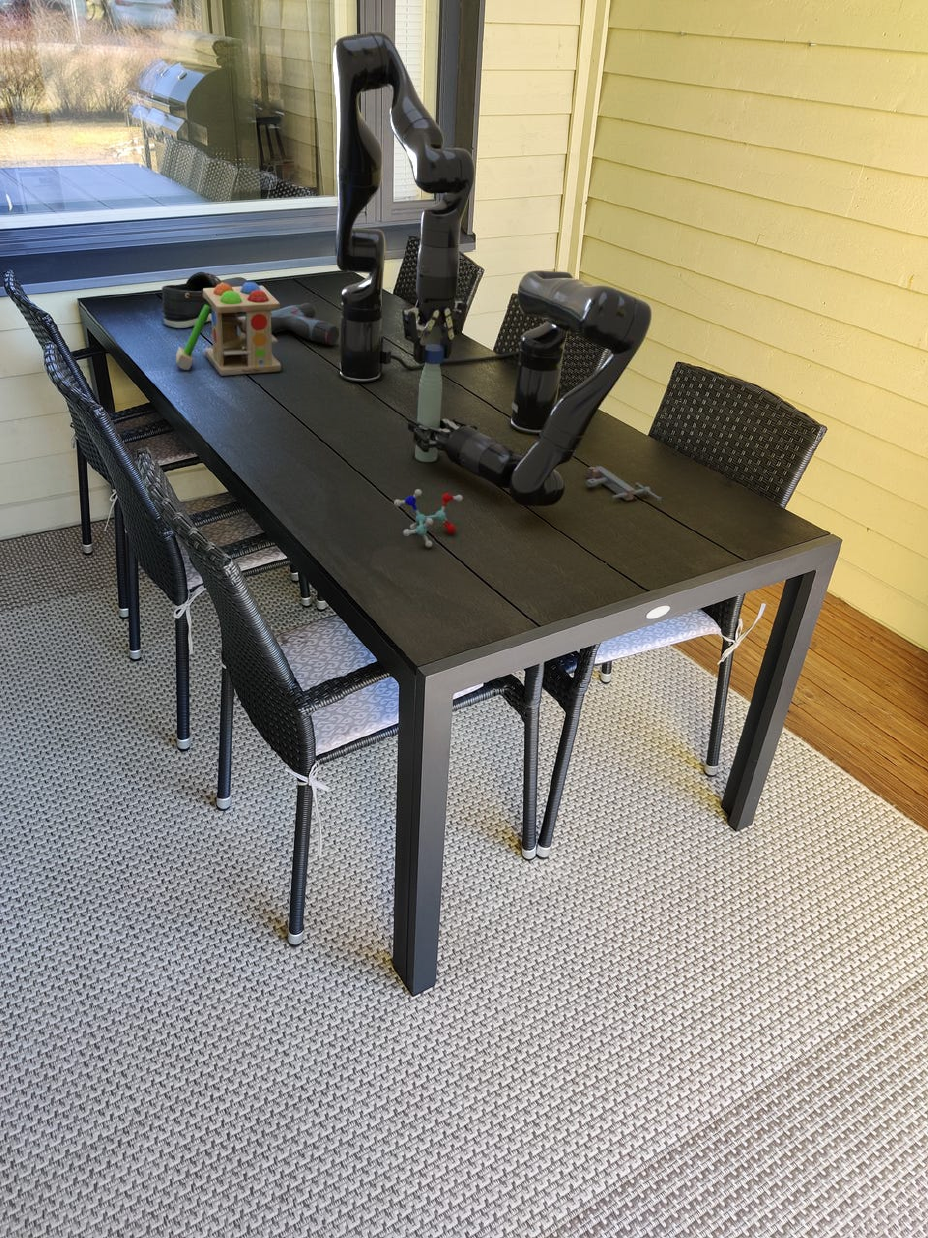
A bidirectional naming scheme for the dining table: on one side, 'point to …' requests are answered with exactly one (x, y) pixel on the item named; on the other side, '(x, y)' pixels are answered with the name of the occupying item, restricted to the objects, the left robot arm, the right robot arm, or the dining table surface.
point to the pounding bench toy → (229, 347)
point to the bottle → (429, 406)
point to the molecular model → (428, 519)
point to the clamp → (598, 478)
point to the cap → (434, 354)
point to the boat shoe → (191, 298)
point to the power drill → (304, 324)
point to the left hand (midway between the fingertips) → (431, 359)
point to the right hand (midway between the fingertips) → (419, 421)
